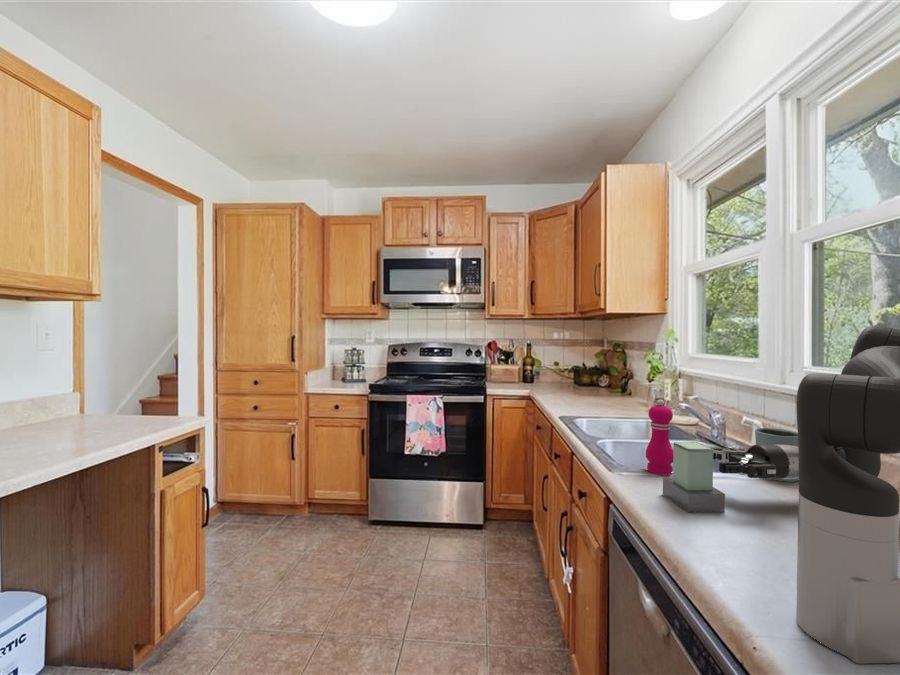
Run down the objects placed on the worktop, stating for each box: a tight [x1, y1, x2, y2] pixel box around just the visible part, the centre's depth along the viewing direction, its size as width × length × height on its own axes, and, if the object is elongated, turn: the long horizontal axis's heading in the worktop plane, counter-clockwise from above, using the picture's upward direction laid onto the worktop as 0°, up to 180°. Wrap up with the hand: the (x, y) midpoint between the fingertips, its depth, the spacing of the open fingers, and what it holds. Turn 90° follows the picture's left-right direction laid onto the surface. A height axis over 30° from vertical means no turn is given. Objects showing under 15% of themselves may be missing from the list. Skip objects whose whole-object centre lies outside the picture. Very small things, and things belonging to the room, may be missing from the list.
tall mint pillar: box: [672, 441, 714, 490], centre depth 94 cm, size 6×6×9 cm
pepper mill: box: [645, 399, 674, 476], centre depth 115 cm, size 7×7×20 cm
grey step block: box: [662, 477, 726, 514], centre depth 94 cm, size 10×8×8 cm
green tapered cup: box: [754, 427, 799, 483], centre depth 112 cm, size 10×10×12 cm
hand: (707, 461), depth 94 cm, fingers open, 8 cm apart
